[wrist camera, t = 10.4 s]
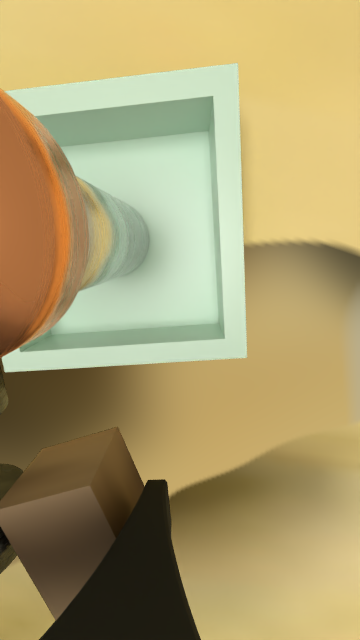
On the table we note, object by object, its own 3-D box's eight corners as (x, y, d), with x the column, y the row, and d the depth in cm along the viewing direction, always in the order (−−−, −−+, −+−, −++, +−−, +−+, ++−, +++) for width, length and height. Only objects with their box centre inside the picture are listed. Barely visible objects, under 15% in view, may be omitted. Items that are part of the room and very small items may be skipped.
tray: (234, 334, 10) (247, 357, 8) (46, 346, 11) (4, 372, 8) (225, 116, 9) (238, 62, 6) (7, 140, 9) (-58, 98, 7)
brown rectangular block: (160, 523, 12) (149, 605, 9) (89, 540, 13) (57, 623, 10) (117, 426, 11) (89, 485, 9) (42, 448, 12) (-9, 511, 9)
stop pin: (169, 279, 9) (84, 362, 3) (80, 294, 10) (-190, 401, 3) (150, 176, 9) (-35, -65, 2) (54, 197, 9) (-378, 57, 2)
